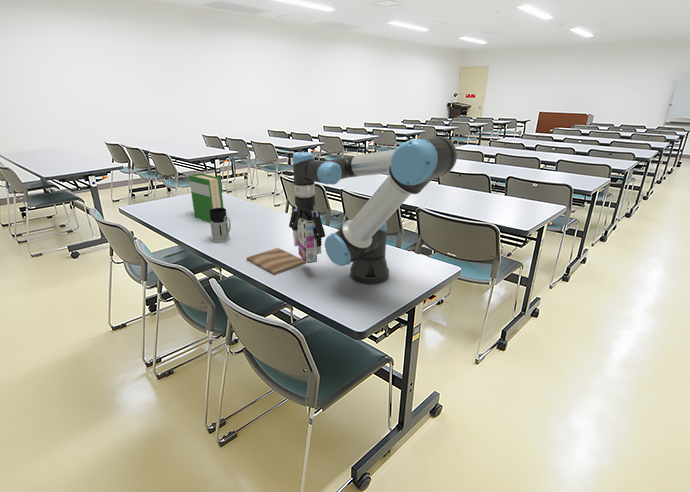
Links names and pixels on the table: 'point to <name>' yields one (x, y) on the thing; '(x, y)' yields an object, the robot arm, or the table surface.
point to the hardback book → (205, 195)
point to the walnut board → (275, 261)
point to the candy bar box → (306, 240)
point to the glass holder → (219, 225)
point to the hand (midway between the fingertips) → (307, 249)
